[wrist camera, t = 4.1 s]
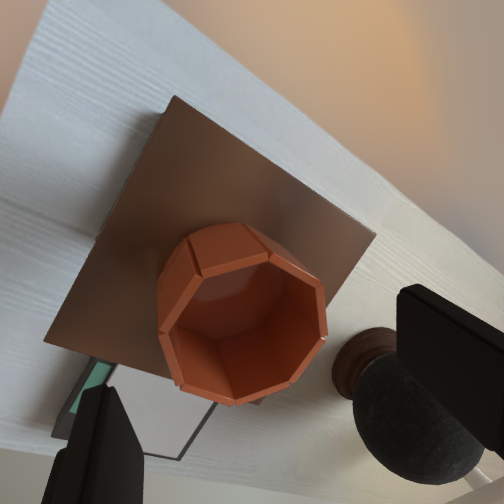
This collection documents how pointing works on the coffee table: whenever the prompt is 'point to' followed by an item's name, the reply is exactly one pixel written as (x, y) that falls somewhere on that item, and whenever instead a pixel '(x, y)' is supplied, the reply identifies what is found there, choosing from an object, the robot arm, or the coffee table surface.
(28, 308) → the coffee table surface
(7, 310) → the coffee table surface
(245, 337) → the bowl
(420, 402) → the black orb ornament
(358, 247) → the stand
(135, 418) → the scale
